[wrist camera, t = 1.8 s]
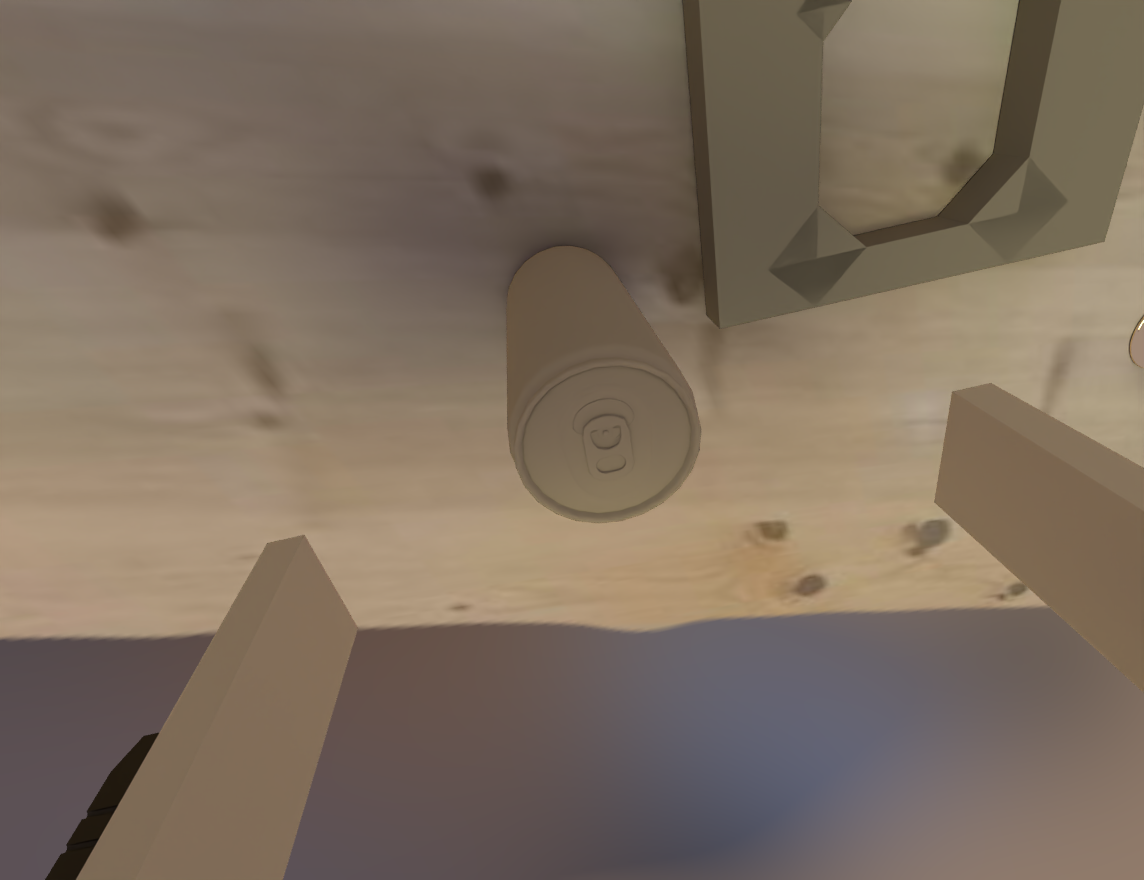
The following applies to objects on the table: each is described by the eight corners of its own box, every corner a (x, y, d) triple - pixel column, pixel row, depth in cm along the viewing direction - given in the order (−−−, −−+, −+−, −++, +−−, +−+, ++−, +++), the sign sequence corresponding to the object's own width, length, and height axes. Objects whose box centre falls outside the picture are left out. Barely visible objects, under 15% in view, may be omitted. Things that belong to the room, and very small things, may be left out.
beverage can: (611, 231, 23) (701, 334, 12) (626, 342, 25) (712, 506, 15) (493, 255, 23) (484, 379, 12) (520, 365, 25) (531, 544, 15)
